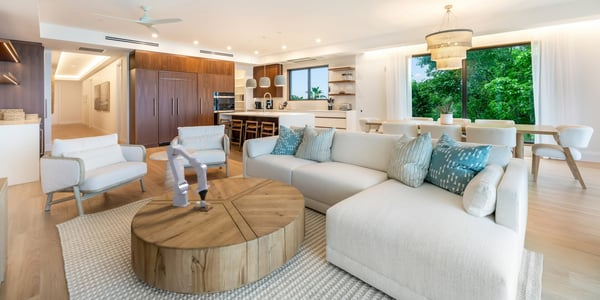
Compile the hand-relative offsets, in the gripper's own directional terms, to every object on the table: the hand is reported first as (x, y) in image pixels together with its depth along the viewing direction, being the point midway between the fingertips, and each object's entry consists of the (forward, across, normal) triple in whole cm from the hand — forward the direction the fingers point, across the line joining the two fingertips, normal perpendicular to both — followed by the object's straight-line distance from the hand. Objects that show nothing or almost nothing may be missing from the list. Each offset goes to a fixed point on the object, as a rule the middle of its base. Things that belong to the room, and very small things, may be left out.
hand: (203, 200), depth 206 cm
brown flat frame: (+6, 0, 0) cm, 6 cm away
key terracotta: (+5, 0, -4) cm, 6 cm away
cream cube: (+5, 0, +4) cm, 6 cm away
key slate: (+4, 0, 0) cm, 4 cm away
